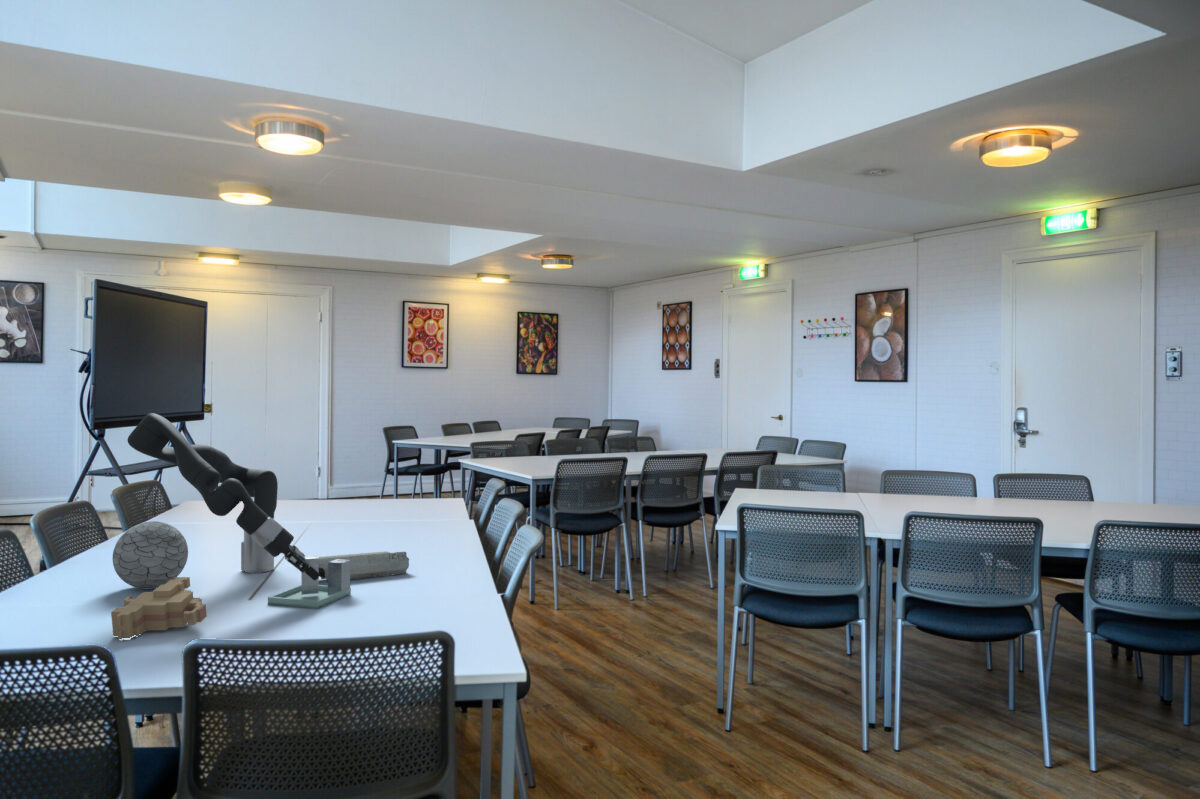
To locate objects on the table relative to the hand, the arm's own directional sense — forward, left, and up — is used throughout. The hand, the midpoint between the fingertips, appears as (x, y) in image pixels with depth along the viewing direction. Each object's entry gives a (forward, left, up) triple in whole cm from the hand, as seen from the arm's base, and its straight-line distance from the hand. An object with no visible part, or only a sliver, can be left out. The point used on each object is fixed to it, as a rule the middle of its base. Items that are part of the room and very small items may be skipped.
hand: (317, 575), depth 229 cm
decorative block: (-3, +26, -7) cm, 27 cm away
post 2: (+4, +5, -6) cm, 9 cm away
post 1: (-2, -1, -5) cm, 5 cm away
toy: (-19, -36, -7) cm, 41 cm away
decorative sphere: (-54, -4, -7) cm, 55 cm away
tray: (-1, -1, -7) cm, 7 cm away
